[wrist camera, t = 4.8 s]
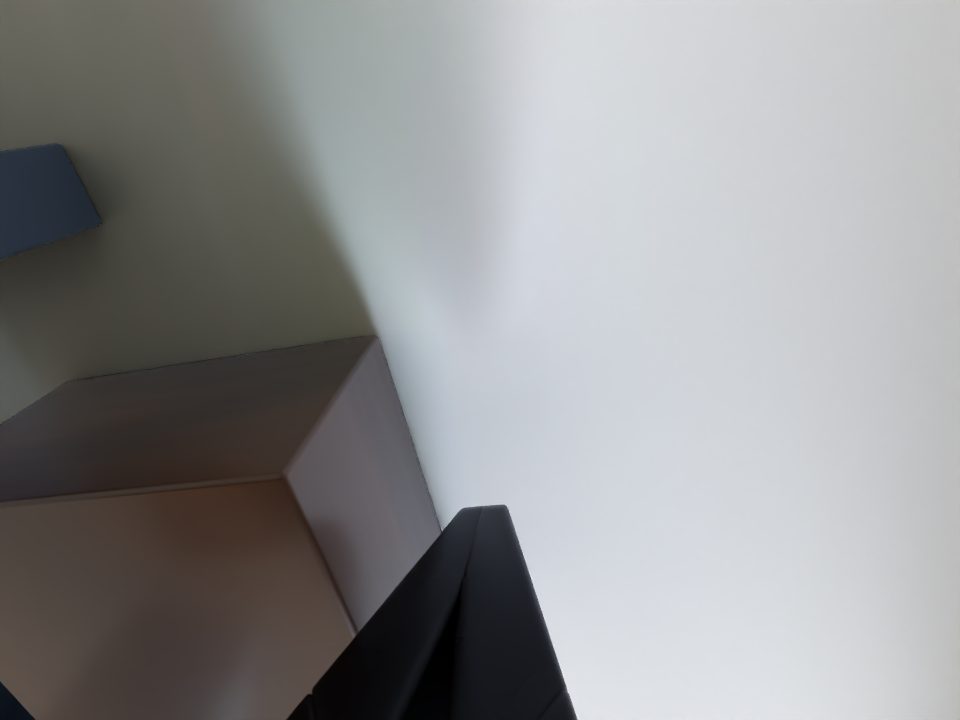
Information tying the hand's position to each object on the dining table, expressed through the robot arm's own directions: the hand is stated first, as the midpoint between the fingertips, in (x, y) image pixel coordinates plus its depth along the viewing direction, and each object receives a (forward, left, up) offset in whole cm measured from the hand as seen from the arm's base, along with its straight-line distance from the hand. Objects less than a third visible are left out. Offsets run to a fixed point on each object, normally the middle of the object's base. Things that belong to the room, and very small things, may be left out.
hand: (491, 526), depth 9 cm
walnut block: (+4, 0, -1) cm, 5 cm away
